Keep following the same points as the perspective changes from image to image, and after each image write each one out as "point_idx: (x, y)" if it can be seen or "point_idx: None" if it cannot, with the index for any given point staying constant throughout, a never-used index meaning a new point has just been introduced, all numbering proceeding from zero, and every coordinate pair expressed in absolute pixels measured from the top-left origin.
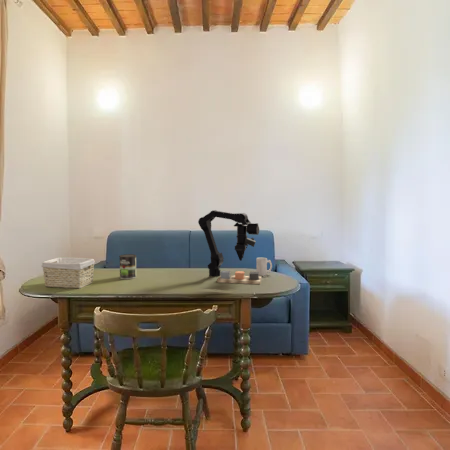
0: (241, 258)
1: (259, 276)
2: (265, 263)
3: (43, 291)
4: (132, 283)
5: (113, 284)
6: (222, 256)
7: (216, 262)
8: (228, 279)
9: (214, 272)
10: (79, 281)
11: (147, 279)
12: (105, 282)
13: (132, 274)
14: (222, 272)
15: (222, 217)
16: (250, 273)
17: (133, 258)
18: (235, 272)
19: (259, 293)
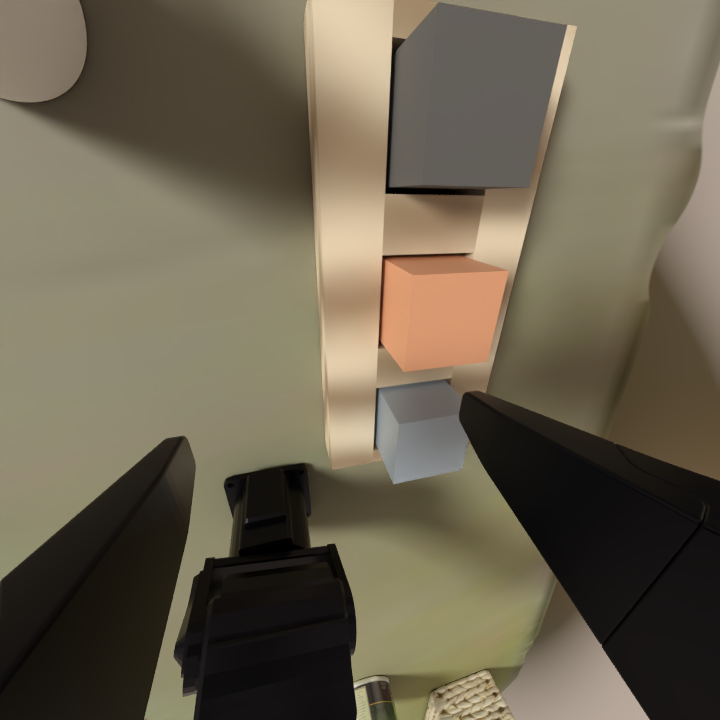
0: (520, 414)
1: (314, 27)
2: None
3: (503, 682)
4: (438, 641)
5: (450, 658)
6: (213, 694)
7: (350, 605)
8: (473, 378)
9: (306, 524)
10: (500, 692)
11: (381, 649)
12: (429, 678)
13: (382, 696)
14: (463, 458)
15: None
16: (526, 172)
17: None
18: (466, 362)
19: (709, 71)
